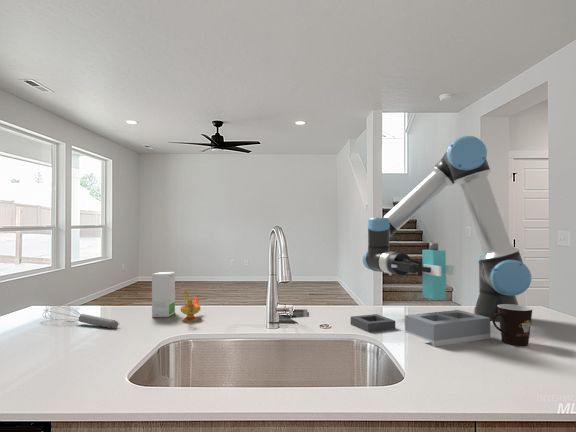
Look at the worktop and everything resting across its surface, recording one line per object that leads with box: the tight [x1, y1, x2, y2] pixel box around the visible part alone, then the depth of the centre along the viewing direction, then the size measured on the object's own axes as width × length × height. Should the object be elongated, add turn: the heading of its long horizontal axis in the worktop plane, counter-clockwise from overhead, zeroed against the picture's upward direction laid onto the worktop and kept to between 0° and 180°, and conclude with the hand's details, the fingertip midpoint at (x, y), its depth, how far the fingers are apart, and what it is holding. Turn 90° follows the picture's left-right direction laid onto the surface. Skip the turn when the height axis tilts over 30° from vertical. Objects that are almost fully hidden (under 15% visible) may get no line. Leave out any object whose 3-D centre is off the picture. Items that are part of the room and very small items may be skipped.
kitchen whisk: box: [42, 302, 119, 329], centre depth 131 cm, size 6×34×6 cm, turn 69°
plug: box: [421, 242, 447, 301], centre depth 115 cm, size 4×4×16 cm
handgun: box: [279, 308, 308, 324], centre depth 142 cm, size 13×2×18 cm
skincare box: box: [151, 271, 176, 318], centre depth 145 cm, size 8×7×16 cm
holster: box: [350, 313, 396, 333], centre depth 124 cm, size 10×10×4 cm
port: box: [404, 309, 491, 348], centre depth 116 cm, size 21×12×6 cm, turn 112°
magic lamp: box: [180, 290, 201, 322], centre depth 140 cm, size 7×18×11 cm, turn 179°
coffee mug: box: [491, 304, 533, 347], centre depth 111 cm, size 12×9×10 cm
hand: (447, 271), depth 110 cm, fingers closed on plug, 4 cm apart
